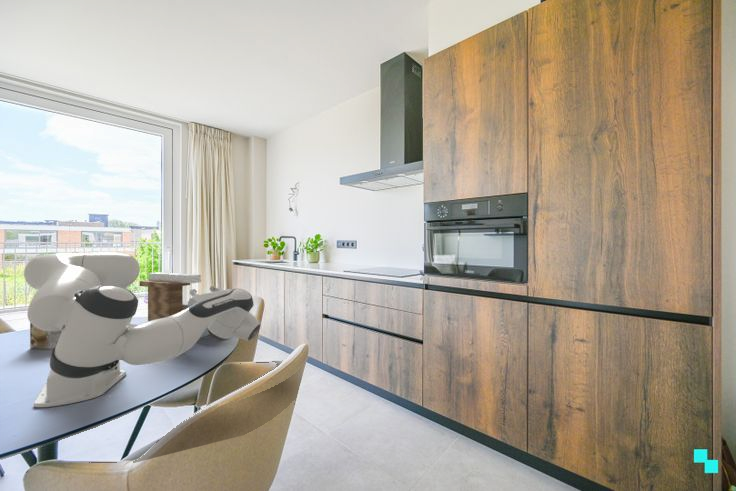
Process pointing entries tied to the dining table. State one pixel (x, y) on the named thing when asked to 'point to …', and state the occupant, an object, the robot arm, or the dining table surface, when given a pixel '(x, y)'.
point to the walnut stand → (163, 298)
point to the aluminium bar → (174, 277)
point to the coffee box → (43, 338)
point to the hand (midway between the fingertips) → (201, 289)
